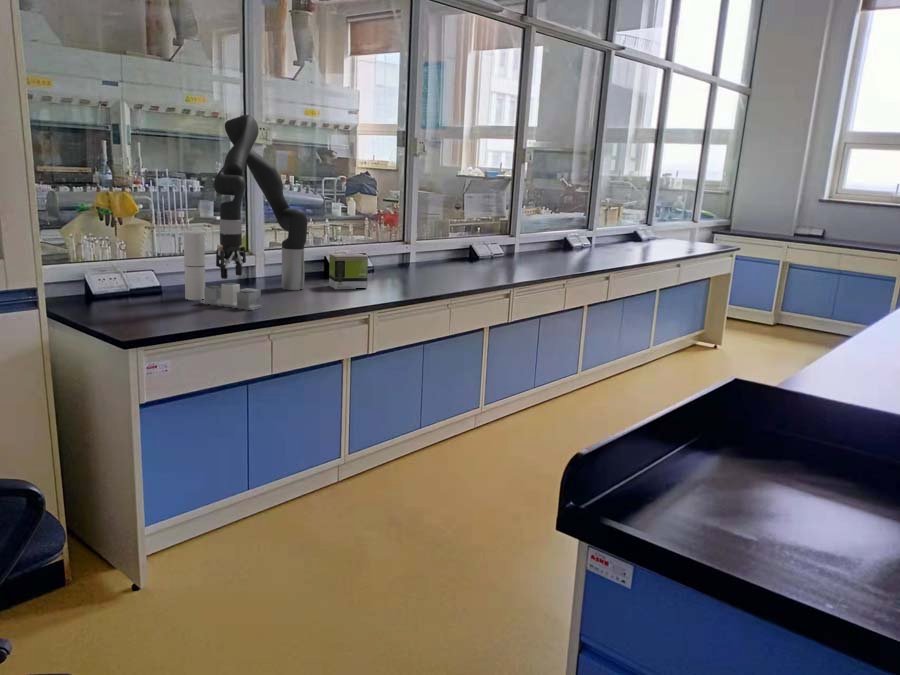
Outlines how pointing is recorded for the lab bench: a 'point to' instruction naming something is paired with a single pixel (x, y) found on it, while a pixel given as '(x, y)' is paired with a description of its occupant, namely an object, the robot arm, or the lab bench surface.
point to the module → (229, 293)
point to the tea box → (348, 271)
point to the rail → (244, 301)
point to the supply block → (255, 291)
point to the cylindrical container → (194, 265)
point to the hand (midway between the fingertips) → (231, 276)
